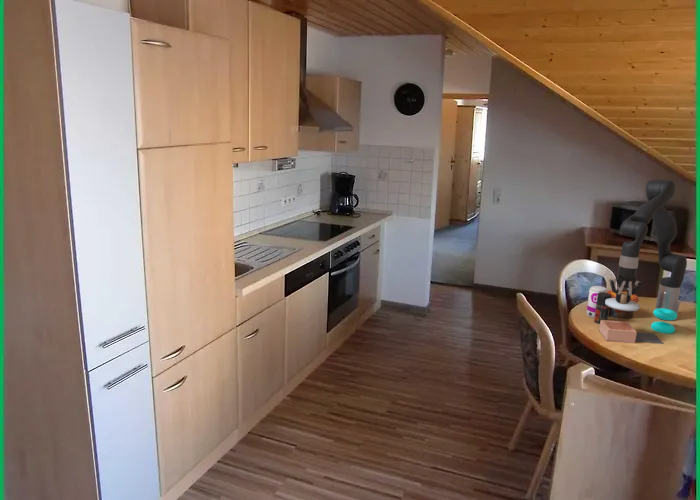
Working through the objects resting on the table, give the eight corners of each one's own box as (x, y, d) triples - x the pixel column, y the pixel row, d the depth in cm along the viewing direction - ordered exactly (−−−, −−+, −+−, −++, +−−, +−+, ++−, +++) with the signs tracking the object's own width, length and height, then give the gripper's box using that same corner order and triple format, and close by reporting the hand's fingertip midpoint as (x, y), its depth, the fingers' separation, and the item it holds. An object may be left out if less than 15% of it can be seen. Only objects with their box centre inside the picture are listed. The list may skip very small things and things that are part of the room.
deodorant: (608, 326, 266) (612, 296, 263) (595, 324, 268) (599, 295, 264) (605, 321, 272) (609, 292, 268) (592, 320, 273) (596, 291, 270)
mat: (653, 334, 257) (653, 333, 257) (663, 344, 246) (664, 343, 246) (626, 332, 259) (626, 331, 259) (635, 342, 247) (635, 341, 247)
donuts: (657, 305, 267) (680, 311, 260) (653, 325, 269) (676, 330, 262) (651, 310, 259) (674, 316, 253) (647, 330, 262) (671, 336, 255)
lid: (632, 301, 254) (634, 290, 253) (644, 312, 240) (646, 300, 239) (601, 299, 256) (602, 288, 254) (610, 309, 242) (612, 297, 241)
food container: (642, 320, 275) (645, 300, 272) (609, 319, 275) (612, 299, 272) (627, 309, 290) (630, 290, 287) (596, 308, 290) (599, 289, 288)
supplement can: (602, 320, 274) (606, 291, 270) (584, 316, 278) (588, 288, 274) (604, 315, 281) (608, 287, 277) (587, 311, 285) (591, 284, 281)
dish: (625, 333, 257) (627, 321, 256) (634, 344, 246) (636, 331, 244) (598, 331, 259) (600, 320, 257) (606, 342, 247) (608, 329, 246)
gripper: (641, 264, 246) (635, 300, 250) (608, 262, 248) (603, 298, 252) (648, 268, 239) (641, 306, 243) (614, 266, 241) (608, 303, 245)
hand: (622, 302), depth 248 cm, fingers closed on lid, 3 cm apart
